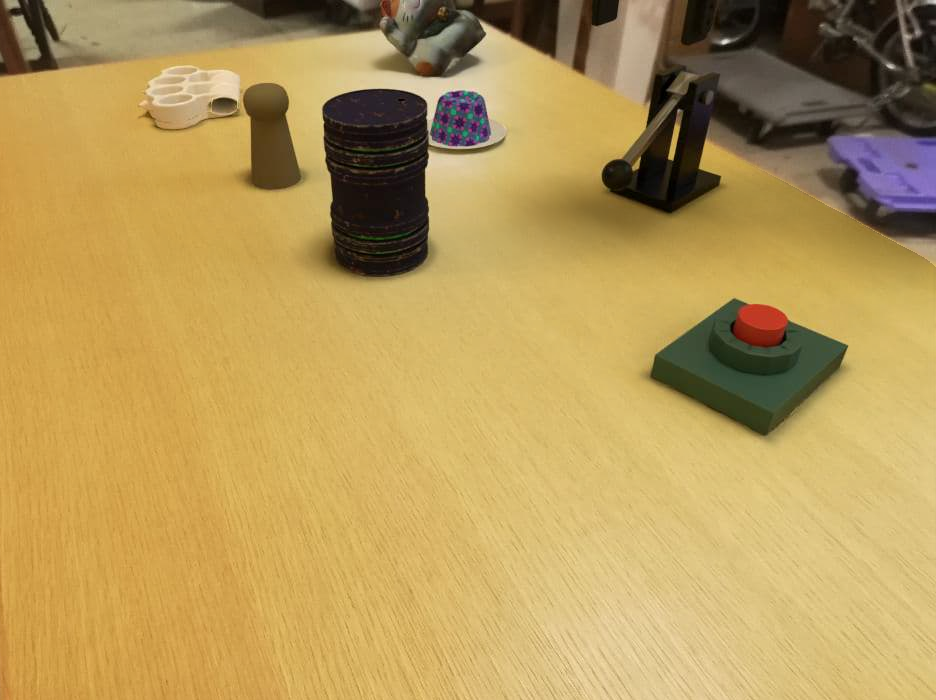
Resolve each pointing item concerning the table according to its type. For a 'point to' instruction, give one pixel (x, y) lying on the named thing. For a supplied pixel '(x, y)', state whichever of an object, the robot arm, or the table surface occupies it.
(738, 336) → the button
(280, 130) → the brown pawn
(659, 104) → the bracket
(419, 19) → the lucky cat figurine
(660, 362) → the button box
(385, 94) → the dark purple cylinder
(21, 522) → the table surface
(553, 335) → the table surface
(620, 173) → the lever
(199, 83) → the white brass knuckles
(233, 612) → the table surface
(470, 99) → the pudding
